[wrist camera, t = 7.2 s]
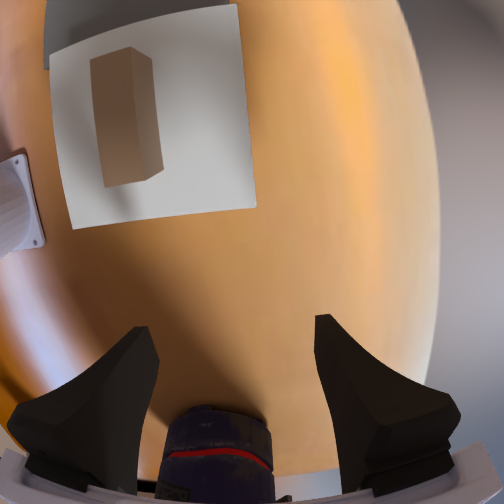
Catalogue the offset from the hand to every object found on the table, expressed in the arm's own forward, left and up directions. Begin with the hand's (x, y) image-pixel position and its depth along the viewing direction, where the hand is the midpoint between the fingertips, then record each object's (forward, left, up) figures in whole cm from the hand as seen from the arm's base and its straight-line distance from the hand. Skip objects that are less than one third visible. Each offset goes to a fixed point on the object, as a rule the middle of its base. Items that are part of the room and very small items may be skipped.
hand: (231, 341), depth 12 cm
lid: (-4, +10, -6) cm, 12 cm away
